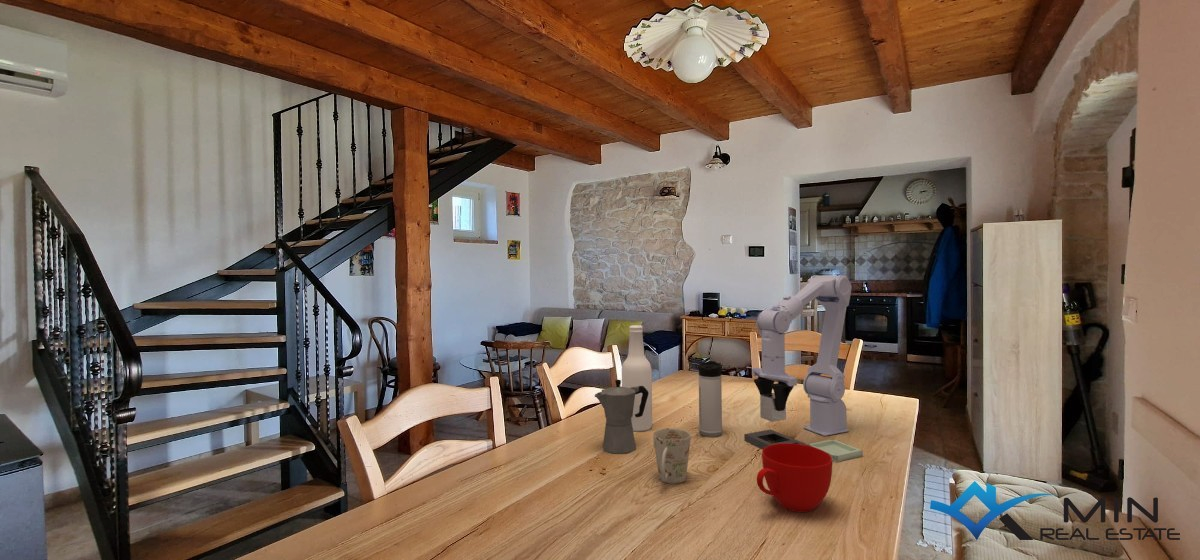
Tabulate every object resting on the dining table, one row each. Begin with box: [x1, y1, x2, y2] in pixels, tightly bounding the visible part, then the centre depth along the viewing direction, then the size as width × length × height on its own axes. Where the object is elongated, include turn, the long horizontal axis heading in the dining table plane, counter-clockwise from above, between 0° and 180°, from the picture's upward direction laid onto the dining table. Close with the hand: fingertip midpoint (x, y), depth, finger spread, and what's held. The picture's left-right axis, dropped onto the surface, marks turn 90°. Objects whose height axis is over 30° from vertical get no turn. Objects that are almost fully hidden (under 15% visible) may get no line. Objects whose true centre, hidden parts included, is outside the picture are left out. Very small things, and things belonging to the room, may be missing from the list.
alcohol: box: [621, 324, 653, 432], centre depth 151 cm, size 9×9×30 cm
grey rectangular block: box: [759, 392, 787, 423], centre depth 134 cm, size 4×4×6 cm
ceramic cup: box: [756, 443, 833, 513], centre depth 101 cm, size 13×17×10 cm
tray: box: [807, 438, 864, 463], centre depth 128 cm, size 9×9×2 cm
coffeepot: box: [594, 379, 648, 455], centre depth 135 cm, size 15×9×18 cm, turn 113°
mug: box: [652, 427, 692, 484], centre depth 113 cm, size 8×13×10 cm, turn 161°
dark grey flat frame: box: [743, 429, 829, 454], centre depth 131 cm, size 20×9×2 cm, turn 23°
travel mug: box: [698, 360, 723, 438], centre depth 145 cm, size 6×7×20 cm
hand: (773, 407), depth 134 cm, fingers closed on grey rectangular block, 4 cm apart
